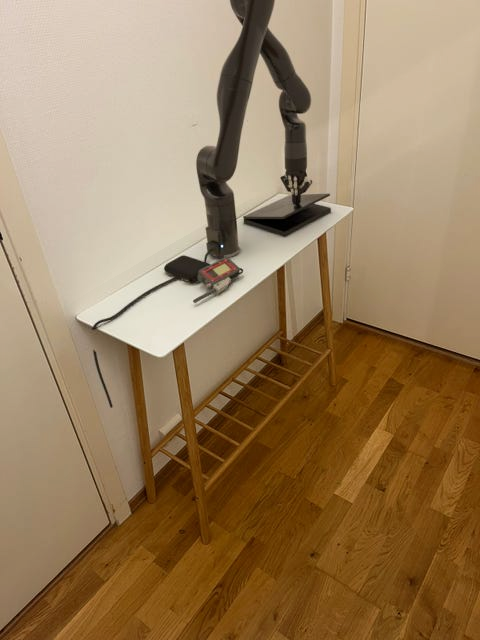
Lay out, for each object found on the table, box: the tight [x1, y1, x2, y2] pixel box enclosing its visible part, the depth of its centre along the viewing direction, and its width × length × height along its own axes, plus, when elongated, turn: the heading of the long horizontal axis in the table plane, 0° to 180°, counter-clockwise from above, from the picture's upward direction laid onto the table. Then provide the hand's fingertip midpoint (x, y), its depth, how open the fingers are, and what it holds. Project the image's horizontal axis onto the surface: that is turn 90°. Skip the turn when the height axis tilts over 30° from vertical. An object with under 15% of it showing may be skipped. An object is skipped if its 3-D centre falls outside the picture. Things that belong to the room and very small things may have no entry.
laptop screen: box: [242, 193, 331, 220], centre depth 164 cm, size 20×26×1 cm
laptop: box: [243, 203, 332, 238], centre depth 166 cm, size 20×26×2 cm
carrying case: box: [163, 255, 211, 284], centre depth 137 cm, size 11×3×15 cm
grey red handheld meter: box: [192, 257, 244, 304], centre depth 128 cm, size 9×4×20 cm
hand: (296, 204), depth 160 cm, fingers closed
